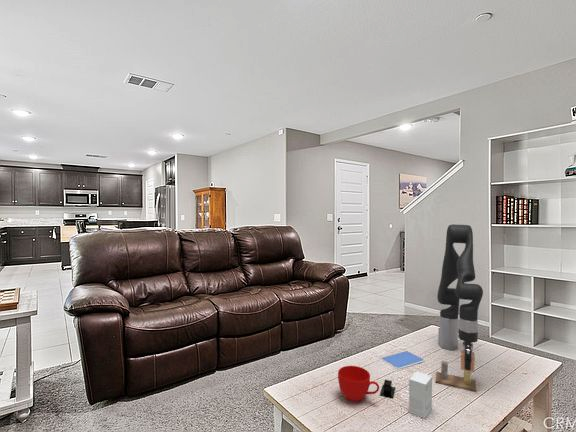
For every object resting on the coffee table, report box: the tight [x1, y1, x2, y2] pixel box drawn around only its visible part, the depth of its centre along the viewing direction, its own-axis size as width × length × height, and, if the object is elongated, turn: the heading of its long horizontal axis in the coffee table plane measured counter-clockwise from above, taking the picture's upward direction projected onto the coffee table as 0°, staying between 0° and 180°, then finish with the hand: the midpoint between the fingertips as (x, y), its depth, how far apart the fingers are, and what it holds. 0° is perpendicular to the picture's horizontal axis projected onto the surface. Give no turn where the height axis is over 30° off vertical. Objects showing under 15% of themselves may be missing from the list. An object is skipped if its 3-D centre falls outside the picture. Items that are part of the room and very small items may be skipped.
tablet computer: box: [380, 350, 426, 371], centre depth 168 cm, size 19×13×1 cm, turn 117°
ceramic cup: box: [337, 365, 380, 403], centre depth 134 cm, size 13×17×10 cm
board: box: [434, 360, 478, 393], centre depth 146 cm, size 16×9×8 cm, turn 63°
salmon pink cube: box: [460, 349, 476, 373], centre depth 144 cm, size 5×5×7 cm
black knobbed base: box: [378, 379, 396, 400], centre depth 139 cm, size 12×7×5 cm, turn 156°
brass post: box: [463, 370, 472, 385], centre depth 144 cm, size 3×3×7 cm
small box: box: [408, 371, 433, 419], centre depth 126 cm, size 8×6×13 cm
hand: (467, 366), depth 144 cm, fingers closed on salmon pink cube, 5 cm apart
